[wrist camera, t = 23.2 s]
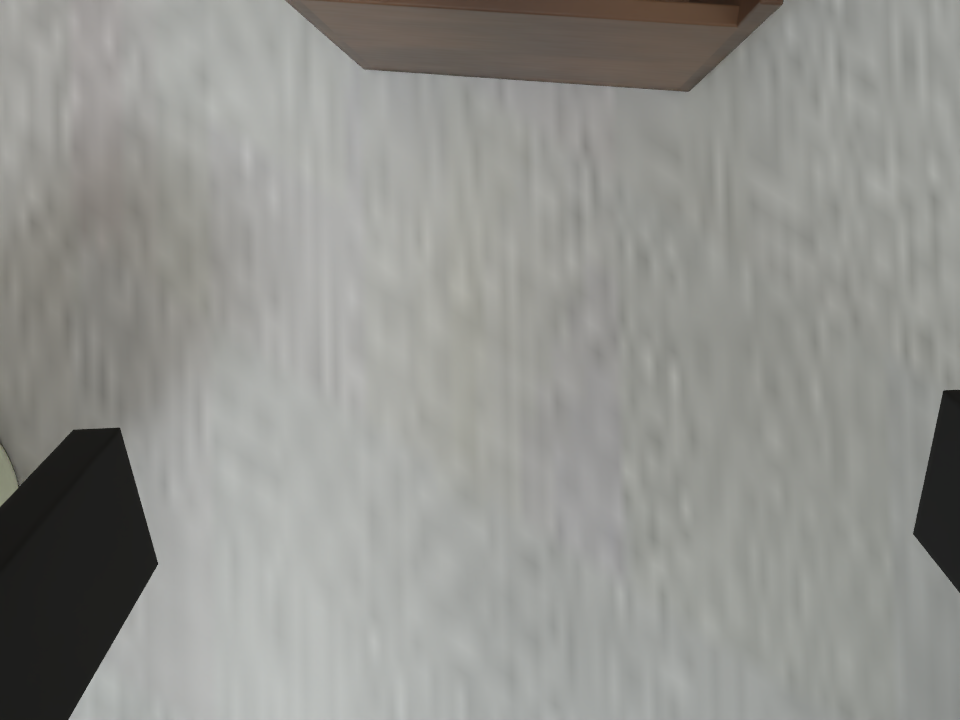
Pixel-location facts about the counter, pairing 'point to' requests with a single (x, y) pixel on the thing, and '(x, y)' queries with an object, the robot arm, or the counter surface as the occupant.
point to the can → (6, 477)
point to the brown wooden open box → (543, 37)
